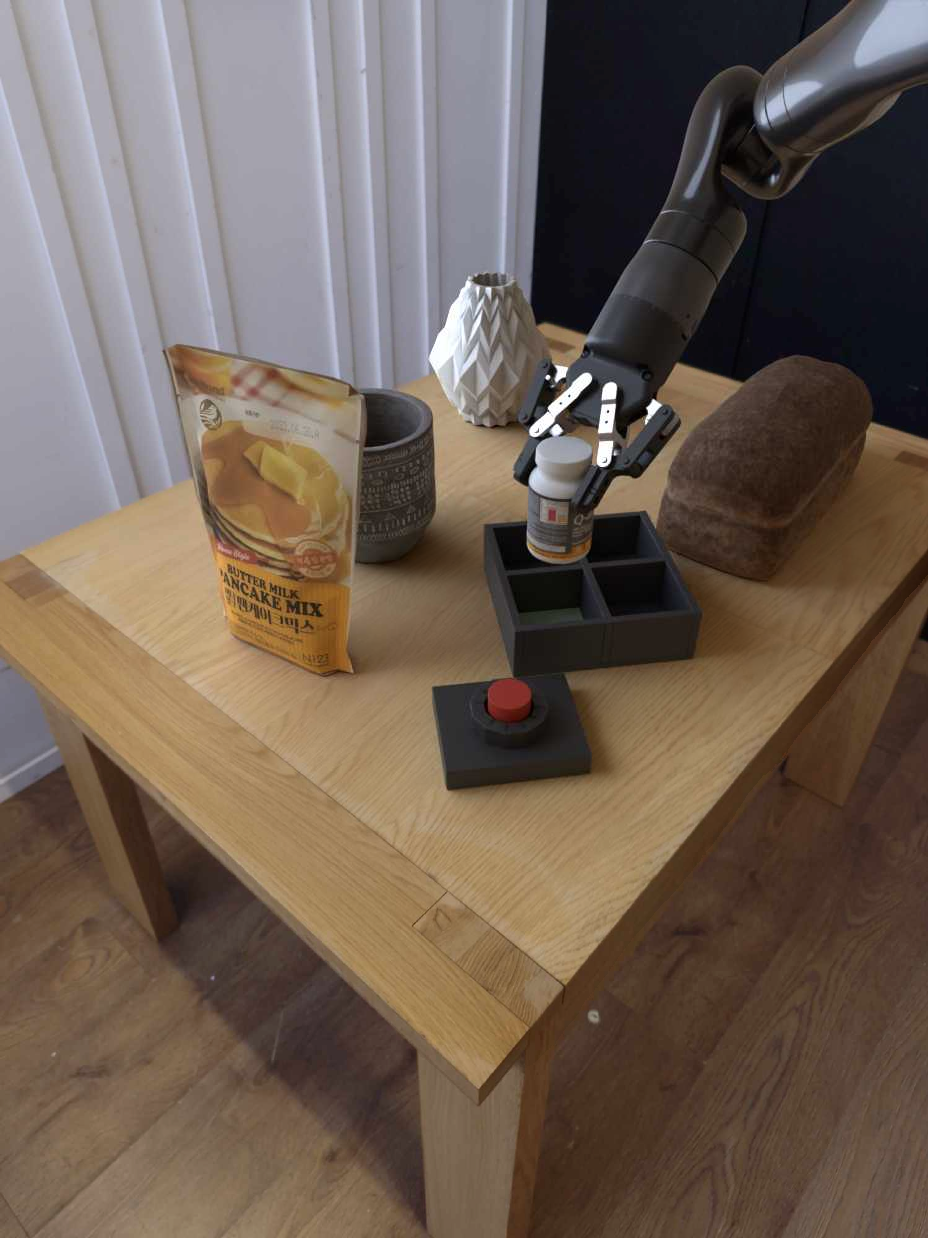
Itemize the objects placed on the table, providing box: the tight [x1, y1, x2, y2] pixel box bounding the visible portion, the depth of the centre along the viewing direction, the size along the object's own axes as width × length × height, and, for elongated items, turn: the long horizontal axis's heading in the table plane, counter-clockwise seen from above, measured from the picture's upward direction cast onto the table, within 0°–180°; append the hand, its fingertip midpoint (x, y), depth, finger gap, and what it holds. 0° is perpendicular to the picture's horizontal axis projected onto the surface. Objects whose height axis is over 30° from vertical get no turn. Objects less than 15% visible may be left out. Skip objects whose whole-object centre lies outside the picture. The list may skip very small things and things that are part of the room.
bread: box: [655, 354, 874, 581], centre depth 99 cm, size 15×32×16 cm, turn 143°
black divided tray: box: [483, 510, 703, 678], centre depth 88 cm, size 17×17×6 cm
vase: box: [428, 270, 553, 428], centre depth 117 cm, size 16×16×18 cm
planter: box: [354, 387, 437, 564], centre depth 95 cm, size 14×14×15 cm
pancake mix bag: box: [161, 343, 367, 677], centre depth 78 cm, size 7×19×28 cm, turn 58°
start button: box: [488, 679, 531, 723], centre depth 73 cm, size 4×4×2 cm
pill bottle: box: [526, 435, 595, 564], centre depth 76 cm, size 6×6×10 cm
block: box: [431, 672, 593, 791], centre depth 75 cm, size 12×10×4 cm
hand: (549, 495), depth 74 cm, fingers closed on pill bottle, 5 cm apart
